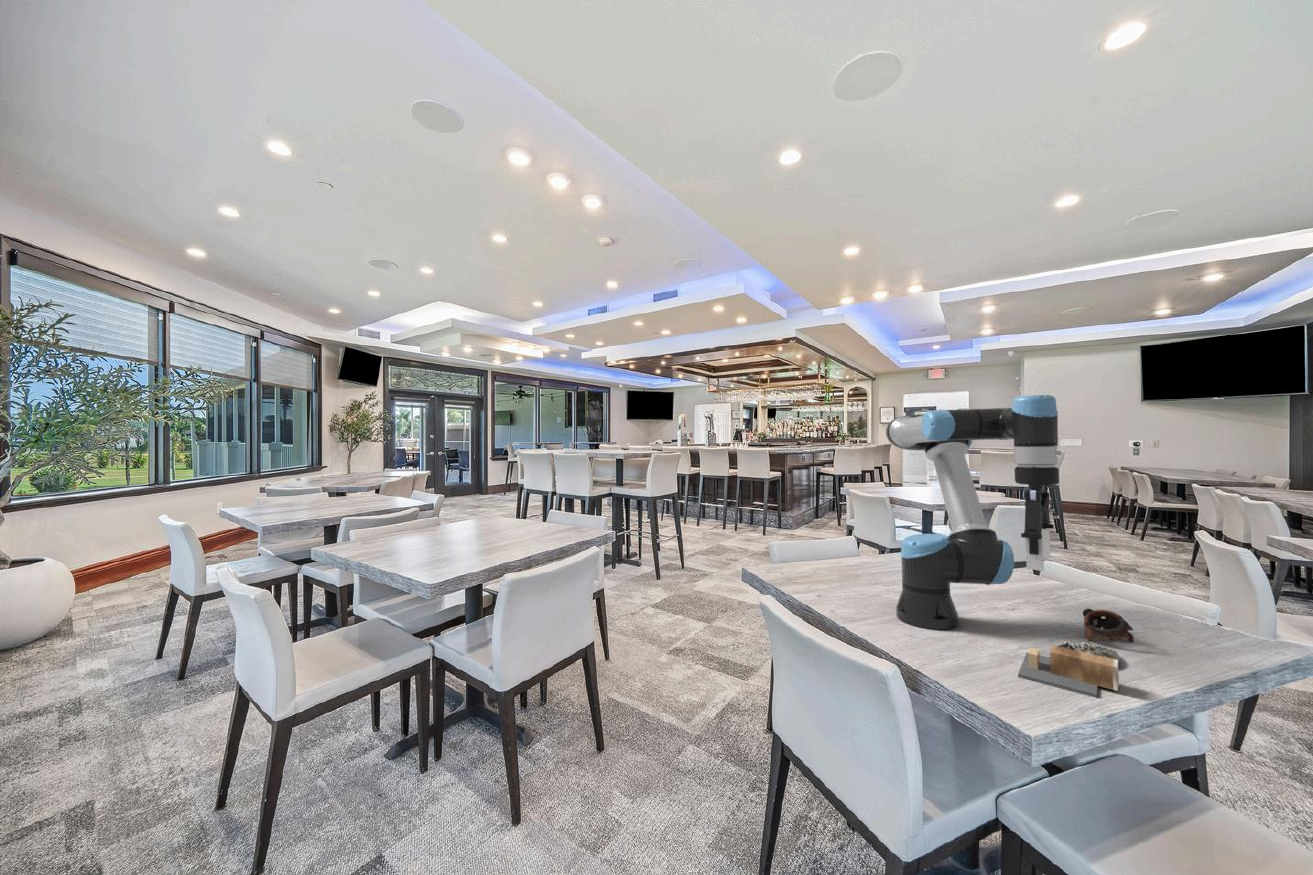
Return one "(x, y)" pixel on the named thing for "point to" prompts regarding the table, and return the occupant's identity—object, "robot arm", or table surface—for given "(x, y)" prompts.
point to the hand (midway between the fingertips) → (1039, 563)
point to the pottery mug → (1106, 626)
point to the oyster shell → (1092, 650)
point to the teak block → (1084, 667)
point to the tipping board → (1039, 671)
